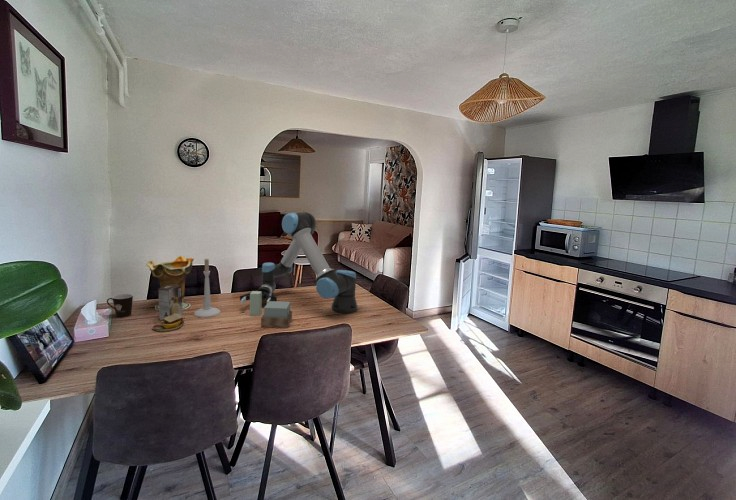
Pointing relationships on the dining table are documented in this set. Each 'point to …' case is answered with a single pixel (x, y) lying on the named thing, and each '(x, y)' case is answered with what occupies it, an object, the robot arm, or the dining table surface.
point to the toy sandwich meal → (169, 323)
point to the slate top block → (276, 309)
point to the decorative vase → (172, 274)
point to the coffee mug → (122, 304)
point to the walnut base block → (276, 321)
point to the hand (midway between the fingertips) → (254, 303)
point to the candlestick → (207, 297)
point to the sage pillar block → (256, 303)
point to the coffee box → (170, 300)
